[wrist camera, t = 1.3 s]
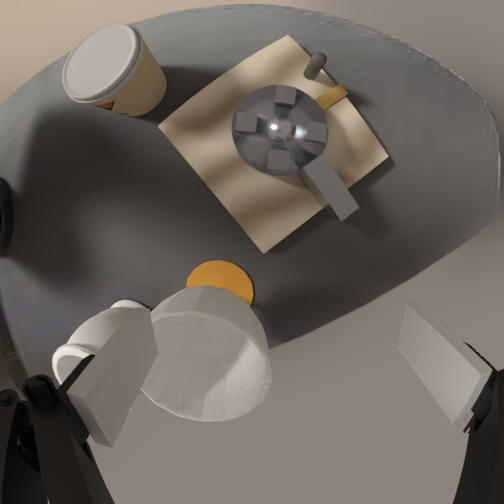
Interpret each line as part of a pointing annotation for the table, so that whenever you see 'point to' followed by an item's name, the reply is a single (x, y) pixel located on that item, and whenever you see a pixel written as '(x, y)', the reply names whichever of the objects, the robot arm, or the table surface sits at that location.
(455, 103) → the table surface
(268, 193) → the housing plate
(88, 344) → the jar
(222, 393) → the cup
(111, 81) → the coffee cup
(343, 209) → the grey notched machine part
